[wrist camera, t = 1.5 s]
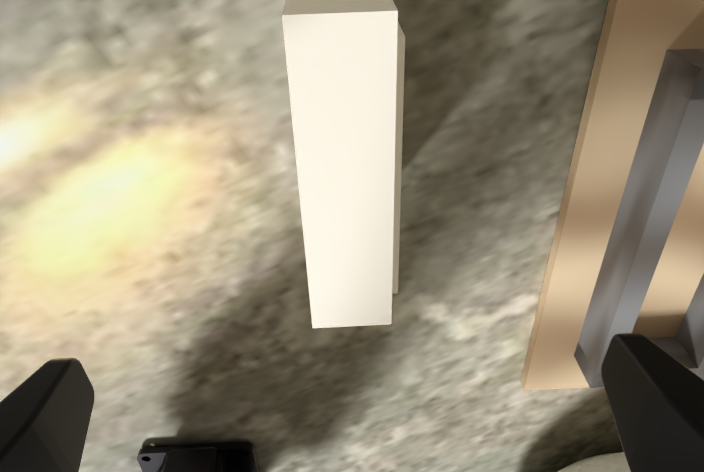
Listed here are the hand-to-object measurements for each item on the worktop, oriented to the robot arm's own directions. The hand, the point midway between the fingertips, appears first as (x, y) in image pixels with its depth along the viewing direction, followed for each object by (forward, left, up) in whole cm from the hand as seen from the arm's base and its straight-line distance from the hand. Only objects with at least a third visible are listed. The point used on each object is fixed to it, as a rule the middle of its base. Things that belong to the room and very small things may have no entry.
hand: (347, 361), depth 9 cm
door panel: (0, 0, -13) cm, 13 cm away
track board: (-6, -14, -12) cm, 20 cm away
